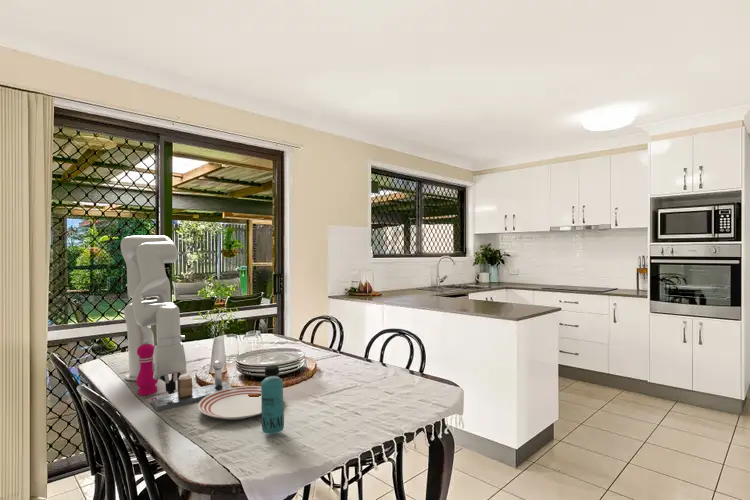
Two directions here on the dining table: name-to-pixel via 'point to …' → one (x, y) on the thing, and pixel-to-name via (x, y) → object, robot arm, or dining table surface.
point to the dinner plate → (232, 403)
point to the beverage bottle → (272, 401)
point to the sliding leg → (184, 386)
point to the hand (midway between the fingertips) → (170, 392)
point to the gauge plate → (198, 393)
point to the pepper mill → (146, 370)
